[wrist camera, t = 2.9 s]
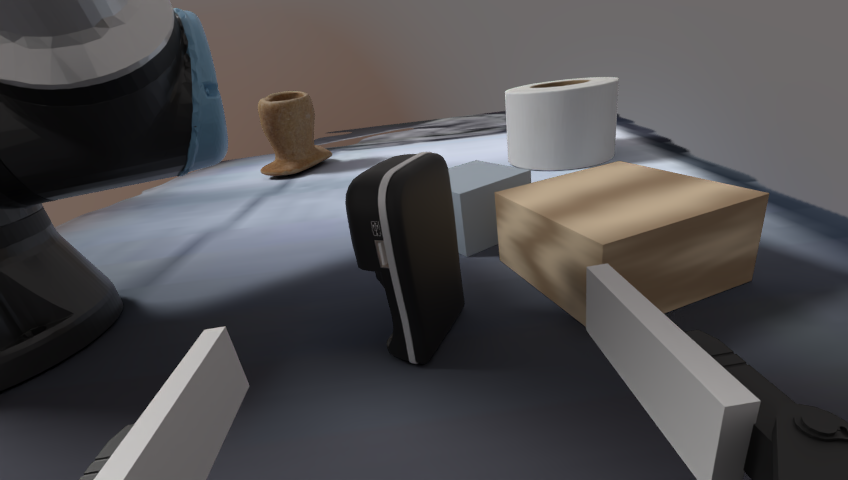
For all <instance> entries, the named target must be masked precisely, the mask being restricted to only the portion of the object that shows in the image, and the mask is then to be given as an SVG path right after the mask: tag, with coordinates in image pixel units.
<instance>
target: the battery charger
mask: <svg viewBox="0 0 848 480" xmlns="http://www.w3.org/2000/svg"><path fill="white" fill-rule="evenodd" d="M346 211H347V217H348V223H349V229H350V234H351V239H352V244H353V249H354V252H355V256H356V259H357V263H358V267H359V268H360V269H363V270H367V271H375V273H376V277H377V279H378V280H379V281H380V283H381V284H382V285H383V287H384V288H385V291H386V295H387V299H388V303H389V307H390V310H391V314H392V320H393V333H392V334H391V336H390V337H389V339H388V340H387V348H388V351H389V353H390V354H392V355H393V356H395V357H397V358H400V359H402V360H407V361H409V362H410V363H414V364H418V363H421V364H425V363H427V362H428V361H429V360H430V358H431V357H432V355H433V354H434V352H435V351H436V349H437V348H438V346H439V345H440V343H441V342H442V340H443V339H444V337H445V336H446V334H447V333H448V331H449V330H450V328H451V326H452V325H453V323H454V322H455V320H456V318H457V317H458V315H459V313H460V312H461V310H462V308H463V307H464V296H463V288H462V280H461V272H460V263H459V252H458V242H457V233H456V223H455V214H454V206H453V198H452V191H451V184H450V177H449V171H448V167H447V164H446V161H445V160H444V158H443V157H442V156H441V155H439V154H436V153H432V152H421V153H419V154H407V155H400V156H394V157H392V158H389V159H387V160H385V161H383V162H381V163H378V164H377V165H375V166H373V167H371V168H370V169H368V170H366V171H364V172H363V173H361V174H360V175H358V176H357V177H356V178H355V179H353V181H352V182H351V184H350V185H349V187H348V190H347V193H346Z"/></svg>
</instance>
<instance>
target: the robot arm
mask: <svg viewBox="0 0 848 480" xmlns="http://www.w3.org/2000/svg"><path fill="white" fill-rule="evenodd" d="M227 149H228V136H227V128H226V121H225V115H224V111H223V105H222V100H221V96H220V93H219V91H218V84H217V80H216V73H215V68H214V64H213V60H212V56H211V52H210V49H209V45H208V42H207V39H206V35H205V33H204V30H203V27H202V24H201V22H200V20H199V18H198V17H197V15H195V14H194V13H193V12H190V11H183V10H181V9H178V8H174V9H173V8H172V5H171V3H170V0H0V391H2V390H5V389H7V388H9V387H12V386H14V385H16V384H18V383H20V382H23V381H25V380H27V379H29V378H31V377H33V376H35V375H37V374H39V373H41V372H43V371H45V370H47V369H48V368H50V367H52V366H54V365H56V364H58V363H59V362H61V361H63V360H65V359H66V358H68V357H69V356H71V355H73V354H74V353H76V352H77V351H79V350H81V349H82V348H84V347H85V346H86V345H88V344H89V343H91V342H92V341H93V340H95V339H96V338H97V337H99V336H100V335H101V334H102V333H104V332H105V331H106V330H107V329H108V328H109V327H110V326H111V325H112V324H113V323H114V322H115V321H116V320H117V318H118V317H119V315H120V314H121V312H122V309H123V302H122V300H121V298H120V296H119V294H118V292H117V290H116V288H115V286H114V284H113V283H112V282H111V281H110V279H109V278H108V277H106V276H105V275H104V274H103V273H102V272H101V271H100V270H99V269H97V268H96V267H95V266H94V265H93V264H92V263H91V262H90V261H89V260H87V259H86V258H85V257H84V256H83V255H82V254H81V253H80V252H78V251H77V250H76V249H75V248H74V247H73V246H72V245H71V244H70V243H68V242H67V241H66V240H65V239H64V238H63V237H62V236H61V235H60V234H59V233H58V232H57V231H56V229H55V228H54V226H53V224H52V223H51V220H50V219H49V217H48V215H47V213H46V211H45V210H44V208H43V206H42V203H44V202H49V201H55V200H58V199H63V198H68V197H73V196H78V195H83V194H88V193H93V192H98V191H103V190H108V189H114V188H118V187H123V186H129V185H134V184H139V183H144V182H149V181H153V180H158V179H164V178H169V177H174V176H184V175H186V174H187V173H188V172H190V171H194V170H197V169H201V168H205V167H208V166H212V165H215V164H217V163H219V162H220V161H221V160H222V159H223V158H224V157H225V155H226V153H227ZM586 331H587V332H588V333H589V335H590V336H591V337H592V339H593V340H594V341H595V343H596V344H597V345H598V347H599V348H600V350H601V351H602V352H603V354H604V355H605V356H606V358H607V359H608V360H609V362H610V363H611V364H612V366H613V367H614V368H615V370H616V371H617V372H618V374H619V375H620V376H621V378H622V379H623V380H624V382H625V383H626V385H627V386H628V387H629V389H630V390H631V391H632V393H633V394H634V395H635V397H636V398H637V399H638V401H639V402H640V403H641V405H642V406H643V407H644V409H645V410H646V411H647V413H648V414H649V416H650V417H651V418H652V420H653V421H654V422H655V424H656V425H657V426H658V428H659V429H660V430H661V432H662V433H663V434H664V436H665V437H666V438H667V440H668V441H669V442H670V444H671V445H672V446H673V448H674V449H675V451H676V452H677V453H678V455H679V456H680V457H681V459H682V460H683V461H684V463H685V464H686V465H687V467H688V468H689V469H690V471H691V472H692V473H693V475H694V476H695V477H696V479H697V480H743V477H744V472H746V474H747V475H748V476H749V477H750V478H751V479H752V480H848V423H847V422H846V421H845V420H843V419H841V418H839V417H838V416H836V415H834V414H832V413H830V412H828V411H825V410H822V409H819V408H817V407H813V406H807V405H801V404H796V403H795V402H794V401H792V400H791V399H790V398H789V397H788V396H786V395H785V394H784V393H783V392H782V391H780V390H779V389H778V388H777V387H775V386H774V385H773V384H772V383H771V382H769V381H768V380H767V379H766V378H765V377H763V376H762V375H761V374H760V373H759V372H757V371H756V370H755V369H754V368H752V367H751V366H750V365H747V364H746V362H745V361H744V360H743V359H742V358H740V357H739V356H738V355H737V354H734V353H733V351H732V350H731V349H729V348H728V347H727V346H726V345H725V344H723V343H722V342H721V341H720V340H719V339H717V338H715V337H713V336H710V335H708V334H706V333H704V332H702V331H700V330H693V331H687V332H683V331H682V330H681V329H680V328H679V327H678V326H677V325H676V324H675V323H673V322H672V321H671V320H670V319H669V318H668V317H667V316H666V315H664V314H663V313H662V312H661V311H660V310H659V309H658V308H657V307H656V306H654V305H653V304H652V303H651V302H650V301H649V300H648V299H647V298H646V297H644V296H643V295H642V294H641V293H640V292H639V291H638V290H637V289H636V288H634V287H633V286H632V285H631V284H630V283H629V282H628V281H627V280H626V279H624V278H623V277H622V276H621V275H620V274H619V273H618V272H617V271H615V270H614V269H613V268H612V267H611V266H610V265H609V264H608V263H607V264H601V265H594V266H588V267H587V272H586ZM249 386H250V385H249V383H248V381H247V378H246V376H245V373H244V371H243V368H242V366H241V363H240V361H239V358H238V356H237V353H236V351H235V348H234V346H233V344H232V341H231V339H230V336H229V334H228V331H227V329H226V326H224V327H218V328H212V329H206V330H204V331H203V332H202V334H201V335H200V336H199V338H198V339H197V340H196V342H195V343H194V344H193V346H192V347H191V348H190V350H189V351H188V352H187V354H186V355H185V357H184V358H183V359H182V361H181V362H180V363H179V365H178V366H177V367H176V369H175V370H174V371H173V373H172V374H171V376H170V377H169V378H168V380H167V381H166V382H165V384H164V385H163V386H162V388H161V389H160V390H159V392H158V393H157V394H156V396H155V397H154V399H153V400H152V401H151V403H150V404H149V405H148V407H147V408H146V409H145V411H144V412H143V413H142V415H141V416H140V418H139V419H138V420H137V422H136V423H135V424H132V425H127V426H126V427H125V428H123V429H122V430H121V431H120V432H119V433H118V434H117V435H115V436H114V437H113V438H112V439H111V440H110V441H108V443H107V444H106V445H105V447H104V448H103V449H102V450H101V452H100V453H99V454H98V456H97V457H96V458H95V462H92V463H91V465H90V466H89V467H88V469H87V470H86V471H85V472H84V476H83V477H81V478H80V479H79V480H206V479H207V477H208V475H209V472H210V470H211V468H212V466H213V464H214V462H215V459H216V457H217V455H218V453H219V451H220V449H221V446H222V444H223V442H224V440H225V438H226V436H227V433H228V431H229V429H230V427H231V425H232V423H233V420H234V418H235V416H236V414H237V412H238V410H239V408H240V405H241V403H242V401H243V399H244V397H245V395H246V392H247V390H248V388H249Z"/></svg>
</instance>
